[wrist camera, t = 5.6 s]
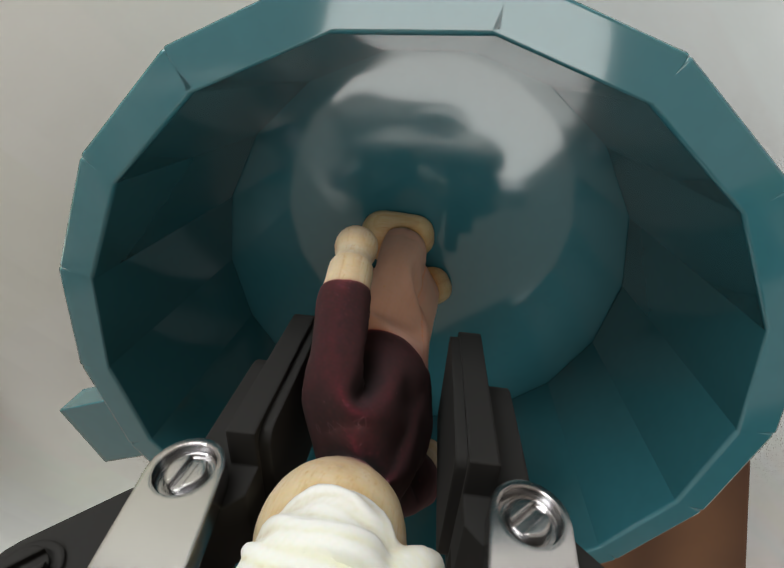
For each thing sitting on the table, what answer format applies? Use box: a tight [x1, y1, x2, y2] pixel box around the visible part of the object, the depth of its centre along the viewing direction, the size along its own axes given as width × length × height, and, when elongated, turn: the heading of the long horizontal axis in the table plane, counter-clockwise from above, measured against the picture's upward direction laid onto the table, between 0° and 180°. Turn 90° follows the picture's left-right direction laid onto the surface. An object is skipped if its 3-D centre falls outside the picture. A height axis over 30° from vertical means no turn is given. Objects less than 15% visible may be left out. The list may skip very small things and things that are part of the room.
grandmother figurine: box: [236, 210, 452, 568], centre depth 11 cm, size 8×4×13 cm, turn 28°
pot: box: [59, 0, 784, 565], centre depth 13 cm, size 17×22×8 cm
